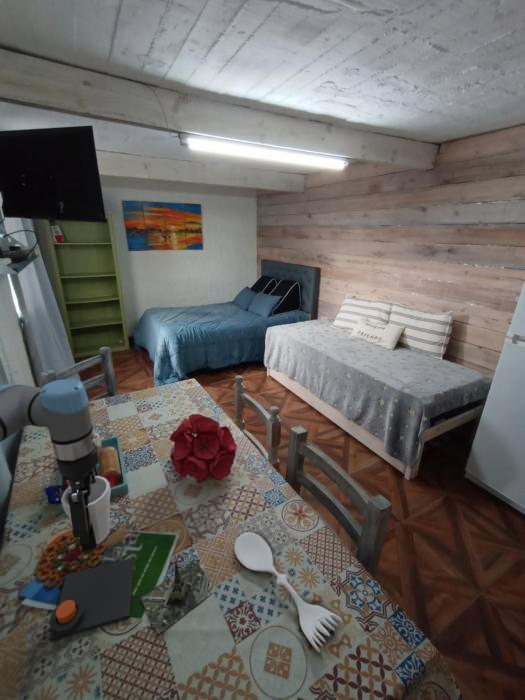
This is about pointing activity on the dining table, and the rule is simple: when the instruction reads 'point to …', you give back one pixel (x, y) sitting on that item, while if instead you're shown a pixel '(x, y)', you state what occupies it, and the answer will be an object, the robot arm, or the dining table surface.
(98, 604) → the scale
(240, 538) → the spoon
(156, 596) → the eiffel tower figurine
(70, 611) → the tare button
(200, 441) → the bouquet
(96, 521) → the foam cup
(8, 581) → the dining table surface
